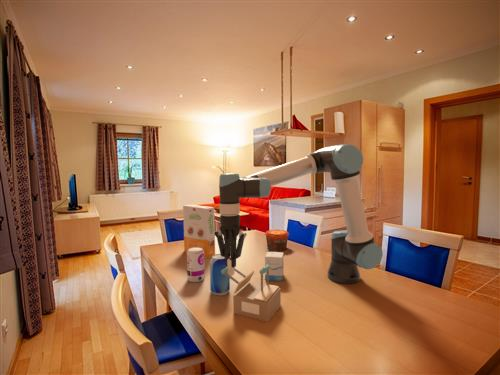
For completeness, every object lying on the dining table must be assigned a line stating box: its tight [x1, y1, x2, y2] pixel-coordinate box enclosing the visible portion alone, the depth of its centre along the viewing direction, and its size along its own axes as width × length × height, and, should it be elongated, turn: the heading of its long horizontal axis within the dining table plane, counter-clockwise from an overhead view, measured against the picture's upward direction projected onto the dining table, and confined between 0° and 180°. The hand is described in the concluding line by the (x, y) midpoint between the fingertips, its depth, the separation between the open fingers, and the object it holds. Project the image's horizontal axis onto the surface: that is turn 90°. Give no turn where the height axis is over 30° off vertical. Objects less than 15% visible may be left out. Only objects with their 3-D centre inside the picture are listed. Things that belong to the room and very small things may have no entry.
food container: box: [264, 229, 290, 251], centre depth 189 cm, size 16×16×11 cm
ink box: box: [264, 251, 285, 282], centre depth 139 cm, size 8×8×12 cm
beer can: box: [209, 253, 231, 296], centre depth 123 cm, size 8×8×16 cm
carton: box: [232, 281, 282, 323], centre depth 108 cm, size 14×13×7 cm
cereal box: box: [182, 204, 216, 259], centre depth 178 cm, size 22×6×30 cm, turn 50°
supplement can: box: [186, 247, 205, 283], centre depth 137 cm, size 8×8×15 cm
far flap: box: [221, 267, 255, 295], centre depth 111 cm, size 6×14×8 cm
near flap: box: [254, 265, 280, 302], centre depth 106 cm, size 6×14×8 cm, turn 155°
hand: (231, 275), depth 108 cm, fingers closed
